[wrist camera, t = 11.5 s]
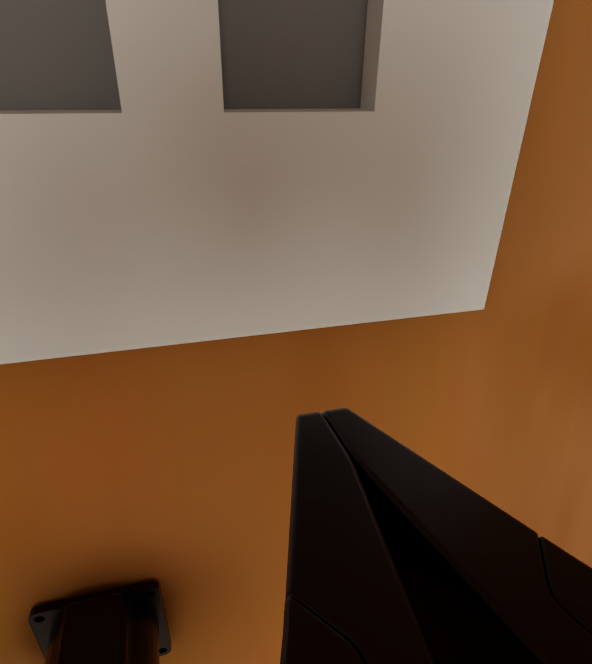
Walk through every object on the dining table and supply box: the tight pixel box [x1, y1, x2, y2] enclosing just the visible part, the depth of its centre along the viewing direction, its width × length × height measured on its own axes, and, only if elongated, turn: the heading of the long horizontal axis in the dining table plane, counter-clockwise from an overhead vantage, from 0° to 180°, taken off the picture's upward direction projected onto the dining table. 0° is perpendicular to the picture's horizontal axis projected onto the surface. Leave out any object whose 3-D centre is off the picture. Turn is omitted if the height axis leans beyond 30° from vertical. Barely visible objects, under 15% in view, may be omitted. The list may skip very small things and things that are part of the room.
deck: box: [0, 0, 554, 364], centre depth 14 cm, size 13×28×4 cm, turn 89°
